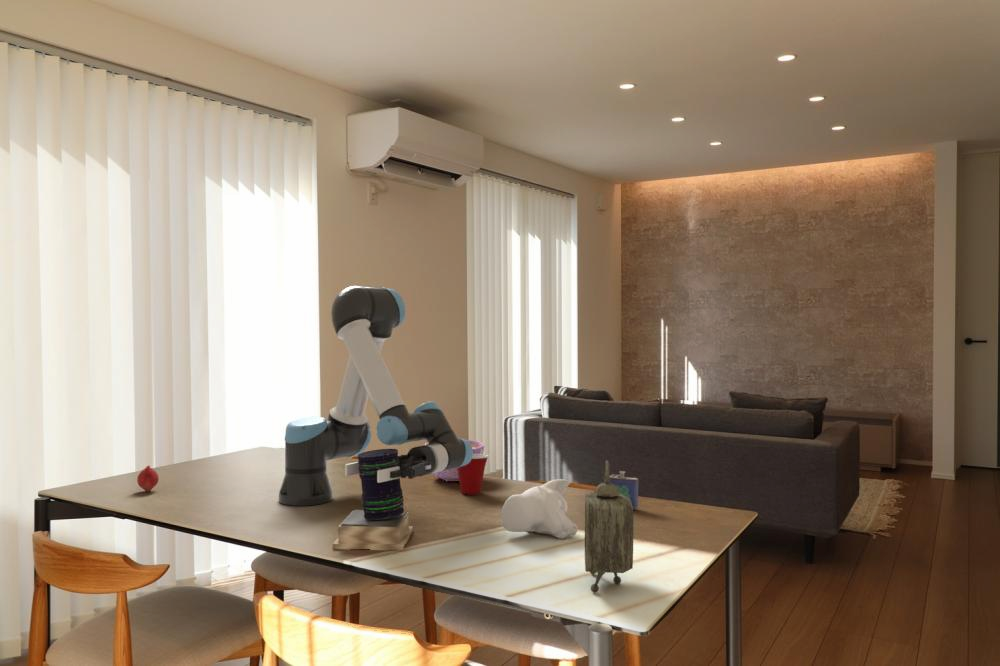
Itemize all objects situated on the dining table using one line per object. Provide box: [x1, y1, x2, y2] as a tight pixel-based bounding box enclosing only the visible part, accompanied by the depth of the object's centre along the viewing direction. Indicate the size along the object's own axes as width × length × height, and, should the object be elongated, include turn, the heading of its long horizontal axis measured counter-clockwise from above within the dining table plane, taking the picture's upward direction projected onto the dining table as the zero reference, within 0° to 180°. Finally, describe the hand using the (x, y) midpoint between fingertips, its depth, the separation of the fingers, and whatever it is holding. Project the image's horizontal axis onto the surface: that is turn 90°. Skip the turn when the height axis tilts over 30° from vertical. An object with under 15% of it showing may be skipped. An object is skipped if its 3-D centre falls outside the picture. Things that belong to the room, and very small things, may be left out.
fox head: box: [500, 478, 579, 540], centre depth 187 cm, size 13×17×20 cm
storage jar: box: [357, 448, 405, 520], centre depth 181 cm, size 10×10×15 cm
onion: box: [136, 464, 159, 492], centre depth 227 cm, size 6×6×8 cm
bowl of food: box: [424, 439, 486, 482], centre depth 249 cm, size 20×20×12 cm
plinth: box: [332, 509, 414, 551], centre depth 181 cm, size 16×16×5 cm
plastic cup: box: [457, 453, 489, 496], centre depth 230 cm, size 11×11×12 cm
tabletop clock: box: [584, 459, 635, 594], centre depth 152 cm, size 14×9×25 cm, turn 175°
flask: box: [609, 470, 639, 511], centre depth 213 cm, size 9×3×11 cm, turn 68°
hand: (361, 473), depth 177 cm, fingers open, 10 cm apart
